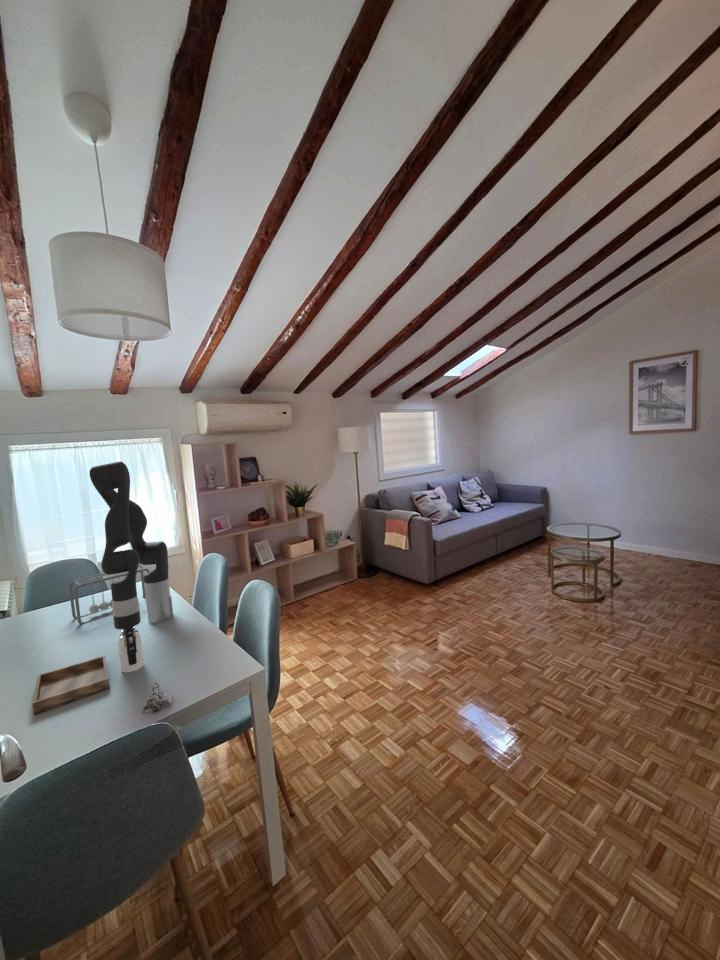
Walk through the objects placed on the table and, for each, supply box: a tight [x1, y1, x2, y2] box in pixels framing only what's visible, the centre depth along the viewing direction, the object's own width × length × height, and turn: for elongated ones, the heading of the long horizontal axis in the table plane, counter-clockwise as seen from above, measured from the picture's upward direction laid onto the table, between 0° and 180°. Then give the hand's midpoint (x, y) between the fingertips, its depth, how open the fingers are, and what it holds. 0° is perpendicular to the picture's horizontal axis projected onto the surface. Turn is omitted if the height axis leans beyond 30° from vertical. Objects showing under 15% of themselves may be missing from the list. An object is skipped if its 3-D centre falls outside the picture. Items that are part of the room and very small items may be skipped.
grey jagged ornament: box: [142, 681, 173, 714], centre depth 109 cm, size 9×9×8 cm
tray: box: [31, 655, 111, 716], centre depth 123 cm, size 18×18×4 cm
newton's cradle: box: [68, 564, 151, 625], centre depth 183 cm, size 30×10×18 cm, turn 137°
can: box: [117, 629, 144, 674], centre depth 132 cm, size 6×6×12 cm
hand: (131, 660), depth 132 cm, fingers closed on can, 5 cm apart
